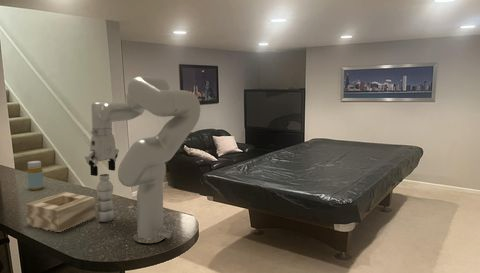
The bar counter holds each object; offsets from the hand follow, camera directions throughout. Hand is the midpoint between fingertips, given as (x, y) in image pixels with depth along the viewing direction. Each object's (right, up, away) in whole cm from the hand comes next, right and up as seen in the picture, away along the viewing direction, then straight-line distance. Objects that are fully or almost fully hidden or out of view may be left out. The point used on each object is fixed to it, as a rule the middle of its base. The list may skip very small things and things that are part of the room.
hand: (103, 172), depth 141 cm
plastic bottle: (0, -21, +3) cm, 21 cm away
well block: (-18, -21, +2) cm, 27 cm away
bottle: (-55, -14, +45) cm, 72 cm away
